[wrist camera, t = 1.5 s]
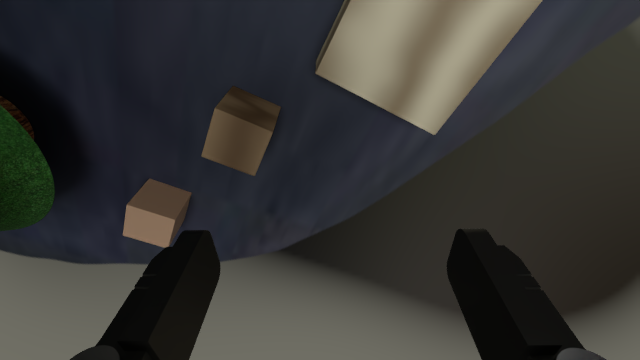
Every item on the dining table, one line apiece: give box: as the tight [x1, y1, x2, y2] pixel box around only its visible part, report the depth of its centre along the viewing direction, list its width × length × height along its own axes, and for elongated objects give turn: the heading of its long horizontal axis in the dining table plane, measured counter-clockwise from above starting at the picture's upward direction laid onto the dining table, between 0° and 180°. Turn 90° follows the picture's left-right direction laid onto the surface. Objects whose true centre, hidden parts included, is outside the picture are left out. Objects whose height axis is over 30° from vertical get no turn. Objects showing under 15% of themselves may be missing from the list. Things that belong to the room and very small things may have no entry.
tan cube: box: [123, 179, 191, 248], centre depth 35 cm, size 5×5×5 cm
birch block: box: [316, 0, 542, 135], centre depth 24 cm, size 12×12×5 cm
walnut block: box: [202, 86, 281, 176], centre depth 28 cm, size 5×5×6 cm
